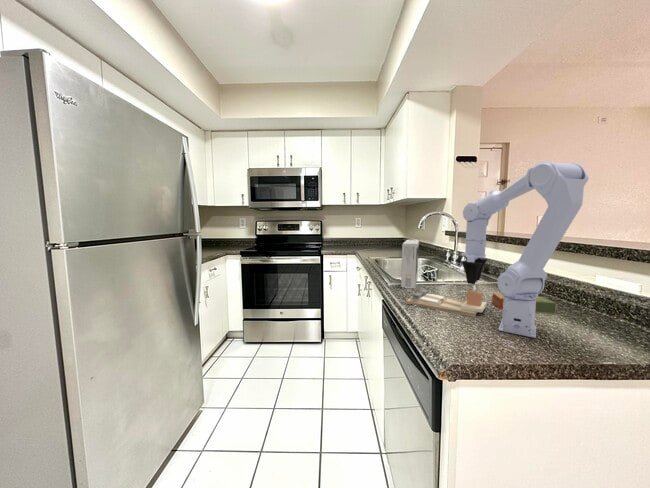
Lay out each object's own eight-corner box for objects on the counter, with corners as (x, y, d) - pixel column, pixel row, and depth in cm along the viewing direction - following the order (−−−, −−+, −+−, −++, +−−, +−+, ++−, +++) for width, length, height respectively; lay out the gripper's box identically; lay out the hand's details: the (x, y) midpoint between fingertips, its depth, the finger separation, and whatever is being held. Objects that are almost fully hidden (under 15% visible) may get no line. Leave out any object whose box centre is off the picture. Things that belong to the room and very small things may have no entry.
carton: (491, 303, 101) (492, 292, 100) (543, 308, 96) (544, 295, 96) (499, 310, 93) (499, 298, 92) (556, 315, 88) (557, 302, 88)
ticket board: (474, 317, 85) (475, 306, 85) (405, 303, 98) (405, 295, 98) (481, 306, 96) (482, 297, 96) (418, 295, 109) (418, 287, 109)
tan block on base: (481, 312, 85) (482, 296, 85) (460, 308, 89) (461, 293, 89) (486, 305, 93) (487, 290, 93) (466, 302, 97) (467, 288, 97)
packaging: (415, 289, 120) (417, 243, 118) (400, 288, 122) (402, 243, 120) (417, 277, 148) (419, 239, 146) (405, 276, 150) (406, 239, 148)
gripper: (466, 239, 98) (464, 276, 99) (457, 241, 87) (455, 283, 88) (489, 240, 94) (487, 279, 95) (482, 242, 82) (480, 287, 84)
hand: (473, 281), depth 91 cm, fingers open, 7 cm apart
